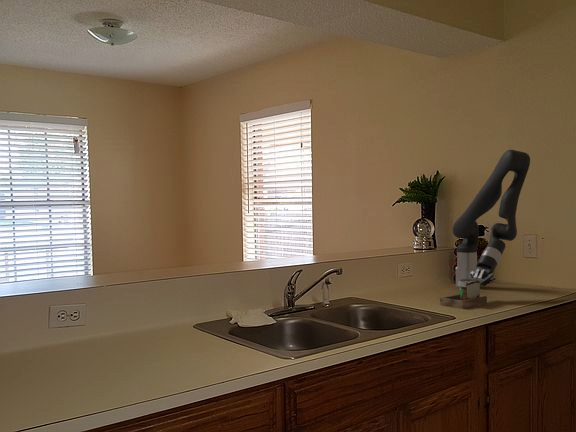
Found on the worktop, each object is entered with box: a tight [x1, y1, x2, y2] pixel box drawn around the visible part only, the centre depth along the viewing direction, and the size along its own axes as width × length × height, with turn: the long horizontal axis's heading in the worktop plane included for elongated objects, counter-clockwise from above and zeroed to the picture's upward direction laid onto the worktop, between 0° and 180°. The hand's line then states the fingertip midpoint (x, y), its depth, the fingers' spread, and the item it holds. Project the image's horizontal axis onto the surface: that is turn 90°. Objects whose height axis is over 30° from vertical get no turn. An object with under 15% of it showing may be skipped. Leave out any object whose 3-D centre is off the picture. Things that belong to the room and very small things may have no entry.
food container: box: [458, 278, 481, 301], centre depth 220 cm, size 12×6×10 cm, turn 133°
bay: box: [439, 293, 488, 310], centre depth 220 cm, size 11×16×3 cm
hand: (472, 291), depth 223 cm, fingers closed
